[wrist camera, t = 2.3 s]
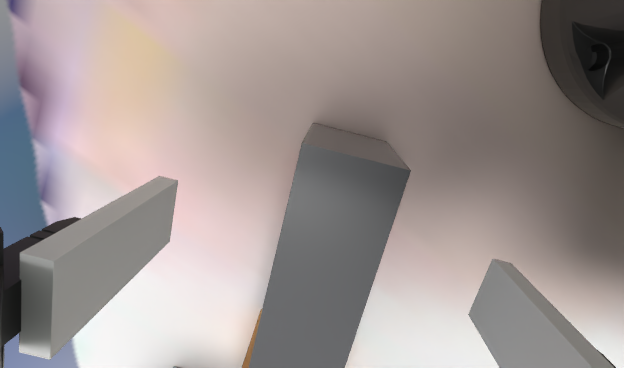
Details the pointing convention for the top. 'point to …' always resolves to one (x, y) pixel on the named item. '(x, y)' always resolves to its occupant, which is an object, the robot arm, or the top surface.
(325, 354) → the grey and orange block
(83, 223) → the robot arm
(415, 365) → the top surface
